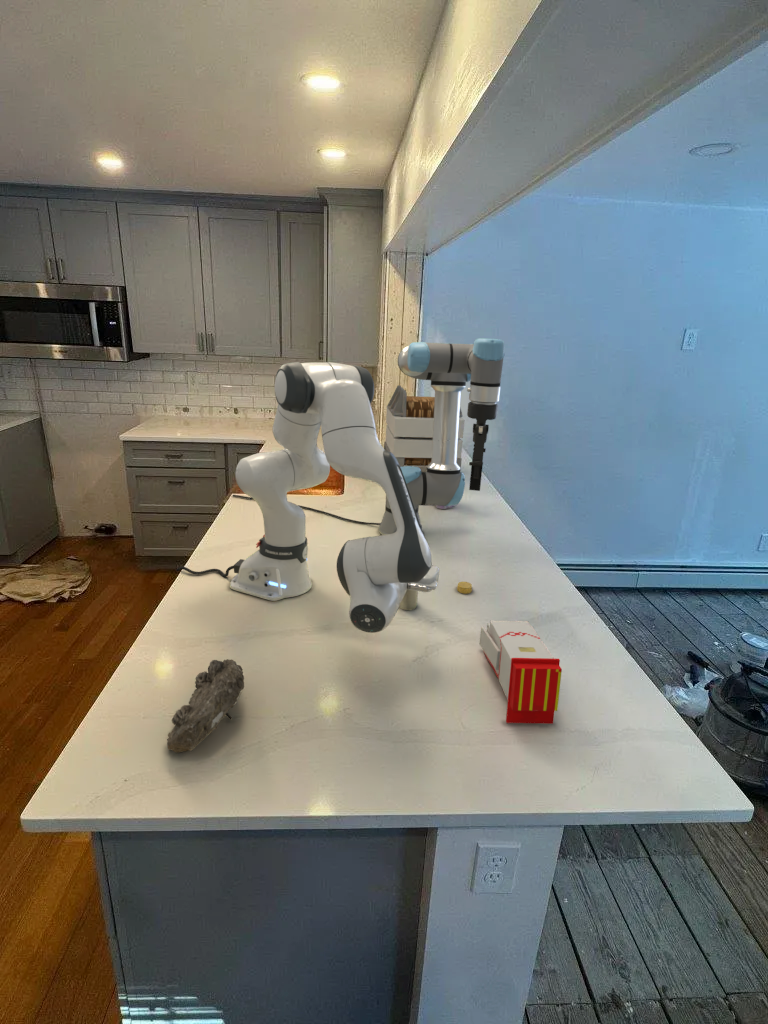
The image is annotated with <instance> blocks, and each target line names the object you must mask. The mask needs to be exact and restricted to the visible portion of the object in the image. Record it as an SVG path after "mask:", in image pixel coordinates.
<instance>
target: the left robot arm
mask: <svg viewBox="0 0 768 1024" xmlns="http://www.w3.org/2000/svg"><path fill="white" fill-rule="evenodd" d="M276 371H277V372H276V373H275V378H274V388H273V389H274V396H275V399H276V402H277V407H276V412H275V416H274V419H273V424H272V435H273V438H274V440H275V441H276V442H277V444H279V445H280V447H282V448H283V449H280V450H279V449H278V450H272V451H264V452H263V451H262V452H257V453H254V454H250V455H248V456H245V457H243V458H241V459H239V461H238V463H237V465H236V466H235V467H236V468H235V472H234V473H235V481H236V484H237V486H238V488H239V489H240V491H241V492H242V493H244V494H245V495H247V497H251V498H253V499H254V502H256V504H257V505H258V506H259V509H260V511H261V513H262V514H261V515H262V520H263V528H264V530H263V531H264V534H263V535H262V537H261V538H260V539H259V540H258V542H257V543H256V544H255V545H256V546H255V547H256V549H257V548H259V549H258V550H255V552H253V553H252V554H250V555H249V556H248V557H246V558H245V559H241V558H240V559H239V560H238V561H236V562H235V563H234V564H233V565H230V566H229V567H227V568H226V570H225V572H223V571H222V570H221V569H218V568H209V569H205V570H201V571H196V570H195V571H194V570H192V569H190V568H188V567H186V566H183V565H181V566H179V567H177V568H176V571H177V572H179V571H181V570H184V571H186V572H187V573H189V574H191V575H196V576H197V575H205V574H210V573H218V574H220V576H221V577H223V578H226V577H228V576H229V574H230V571H231V570H233V573H234V574H235V575H234V576H233V577H232V579H231V581H230V583H229V585H230V586H229V589H231V590H234V591H237V592H240V593H244V594H247V595H251V596H253V597H257V598H261V599H265V600H266V601H267V600H268V601H271V602H276V601H280V600H283V599H285V598H286V599H287V598H294V597H297V596H301V595H303V594H305V593H307V592H309V590H311V588H312V586H313V583H312V580H311V576H310V573H309V567H308V554H309V546H308V538H307V535H306V534H307V527H306V526H307V525H306V524H307V523H306V522H307V521H306V520H307V519H306V517H307V515H306V513H305V511H304V508H301V507H300V506H301V505H300V506H298V505H299V504H296V503H294V502H292V501H288V493H289V492H295V491H300V490H306V489H311V488H313V487H316V486H318V485H321V484H324V483H325V482H326V481H327V480H328V478H329V475H330V471H331V468H332V469H333V470H334V471H335V472H337V473H338V474H341V475H343V476H346V477H349V478H351V479H357V480H362V481H366V482H371V483H374V484H376V485H377V486H379V487H380V488H382V490H383V492H384V494H385V497H386V496H387V499H388V502H389V505H390V508H391V511H392V514H393V517H394V520H395V524H396V527H397V531H396V532H395V533H392V534H386V535H381V534H380V535H375V536H366V537H358V538H353V539H348V540H347V541H346V542H344V544H343V545H342V547H341V548H340V551H339V553H338V555H337V559H336V572H337V578H338V580H339V583H340V585H341V587H342V588H343V590H344V591H345V592H346V594H347V595H348V596H349V609H348V615H349V619H350V623H351V624H352V625H353V626H354V627H355V628H356V629H357V630H359V631H362V632H364V633H370V634H372V633H373V634H375V633H379V632H381V631H383V630H385V629H386V628H388V626H389V625H390V624H391V623H392V621H393V620H394V618H395V616H396V615H397V612H398V610H399V609H400V608H399V604H400V603H401V601H402V599H403V597H404V595H405V593H406V591H407V590H413V591H418V592H421V593H429V592H432V591H434V590H436V588H437V586H438V584H439V581H440V571H441V570H440V567H438V566H437V565H434V564H433V557H432V551H431V548H430V545H429V543H428V541H427V539H426V536H425V533H424V531H423V527H422V528H421V526H420V523H419V520H418V517H417V514H416V511H415V508H414V505H413V502H412V499H411V496H410V493H409V490H408V487H407V484H406V481H405V478H404V475H403V473H402V470H401V467H400V465H399V463H398V461H397V459H396V457H395V456H394V455H393V453H391V452H389V451H386V450H385V449H384V446H383V445H382V444H381V442H380V440H379V437H378V434H377V427H376V421H375V416H374V413H373V408H372V404H371V403H372V402H373V400H374V397H375V382H374V379H373V376H372V374H371V372H370V371H369V370H368V369H367V368H365V367H364V366H360V365H356V364H346V363H345V364H344V363H339V362H332V361H324V362H319V361H317V362H313V361H312V362H300V361H293V362H291V361H290V362H287V363H283V364H281V366H280V367H279V368H278V370H276ZM320 429H321V440H322V446H323V449H320V448H319V447H318V438H319V433H320Z"/></svg>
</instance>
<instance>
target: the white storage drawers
mask: <svg viewBox="0 0 768 1024" xmlns="http://www.w3.org/2000/svg"><path fill="white" fill-rule="evenodd" d="M407 394H408V393H407V390H406V389H404V388H403V387H402V385H399V384H398V385H397V386H396V388H395V390H394V392H393V394H392V395H391V398H390V400H389V402H388V404H387V405H386V413H385V414H386V415H385V423H386V428H385V438H384V442H383V448H384V449H385V450H386V451H389V452H391V453H393V455H394V456H395V457H396V459H397V461H398V463H399V465H400V467H403V466H412V467H427V466H428V465H429V464H430V463H431V460H432V440H433V421H434V402H435V396H415V395H414V396H413V395H412V396H411V395H407ZM464 429H465V419H464V418H463V411H462V408H461V407H460V411H459V427H458V443H457V460H456V463H457V465H458V466H459V467H460V472H462V461H463V460H462V453H463V442H464V441H463V440H462V439H463V438H464V431H465V430H464Z"/></svg>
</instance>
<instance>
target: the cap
mask: <svg viewBox="0 0 768 1024" xmlns="http://www.w3.org/2000/svg"><path fill="white" fill-rule="evenodd" d="M456 590H457V592H458V593H460V594H463V595H466V594H467V595H468V594H471V593H472V591H473V584H472V583H471V582H469V581H459V582H458V583H457V587H456Z"/></svg>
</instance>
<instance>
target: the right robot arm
mask: <svg viewBox="0 0 768 1024" xmlns="http://www.w3.org/2000/svg"><path fill="white" fill-rule="evenodd" d="M504 358H505V342H504V340H503V339H499V338H486V337H481V338H480V337H478V338H475V340H474V341H473V343H445V342H425V341H417V342H416V341H415V342H414V341H413V342H411V343H410V344H409V345H407V346H405V347H404V348H403V349H401V350H400V352H399V353H398V356H397V367H398V368H399V370H400V371H401V373H403V374H404V375H405V376H407V377H409V378H412V379H416V380H422V381H430V387H431V388H432V389H433V390H434V397H435V402H434V421H433V440H432V460H431V463H430V464H429V465H428V466H426V471H422V469H421V468H420V466H407V465H404V466H403V467H401V470H402V473H403V475H404V478H405V481H406V484H407V487H408V490H409V493H410V496H411V499H412V502H413V505H414V508H415V511H416V514H417V517H418V520H419V523H420V526H421V528H422V529H423V525H422V524H421V518H420V515H419V507H420V506H435V505H436V506H452V505H454V506H457V505H459V504H460V503H461V501H462V499H463V496H464V493H465V492H464V491H465V486H466V481H465V480H466V477H465V474H464V472H462V471H461V472H460V467H459V466H458V465H457V463H456V460H457V443H458V427H459V411H460V408H461V396H462V395H461V393H462V391H463V390H464V389H466V385H467V383H468V382H470V383H469V384H470V385H469V387H467V389H466V391H467V392H468V400H469V402H468V403H467V411H466V412H467V413H466V416H467V418H470V419H471V420H476V422H475V423H473V425H472V442H473V449H472V450H473V451H472V459H471V461H469V464H468V466H470V476H469V477H470V478H469V487H468V490H469V491H475V492H476V491H477V492H480V491H481V483H482V475H483V466H484V453H486V451H487V450H486V448H485V444H486V443H487V440H488V439H487V438H488V434H489V430H490V428H489V427H490V425H489V424H487V421H492V420H493V421H494V420H496V419H497V417H498V409H499V405H498V404H497V403H499V401H500V394H501V381H502V375H503V365H504ZM232 497H233V498H234V497H235V498H241V499H245V500H254V499H253V498H251V497H250V496H244V495H238V494H232ZM254 501H255V500H254ZM297 505H298V506H300V507H301V508H302V509H305V510H310V511H312V512H317V513H321V514H324V515H328V516H331V517H334V518H336V519H340V520H343V521H347V522H352V523H355V524H361V525H367V526H368V525H371V526H378V533H379V534H380V535H386V534H392V533H395V532H396V531H397V527H396V524H395V520H394V517H393V514H392V511H391V508H390V505H389V502H388V499H387V496H386V495H385V504H384V505H385V507H384V508H385V509H384V513H383V515H382V519H381V522H367V521H359V520H356V519H350V518H347V517H342V516H339V515H337V514H334V513H331V512H328V511H327V512H326V511H324V510H319V509H317V508H313V507H308V506H303V505H299V504H297ZM436 506H435V507H436Z"/></svg>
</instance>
